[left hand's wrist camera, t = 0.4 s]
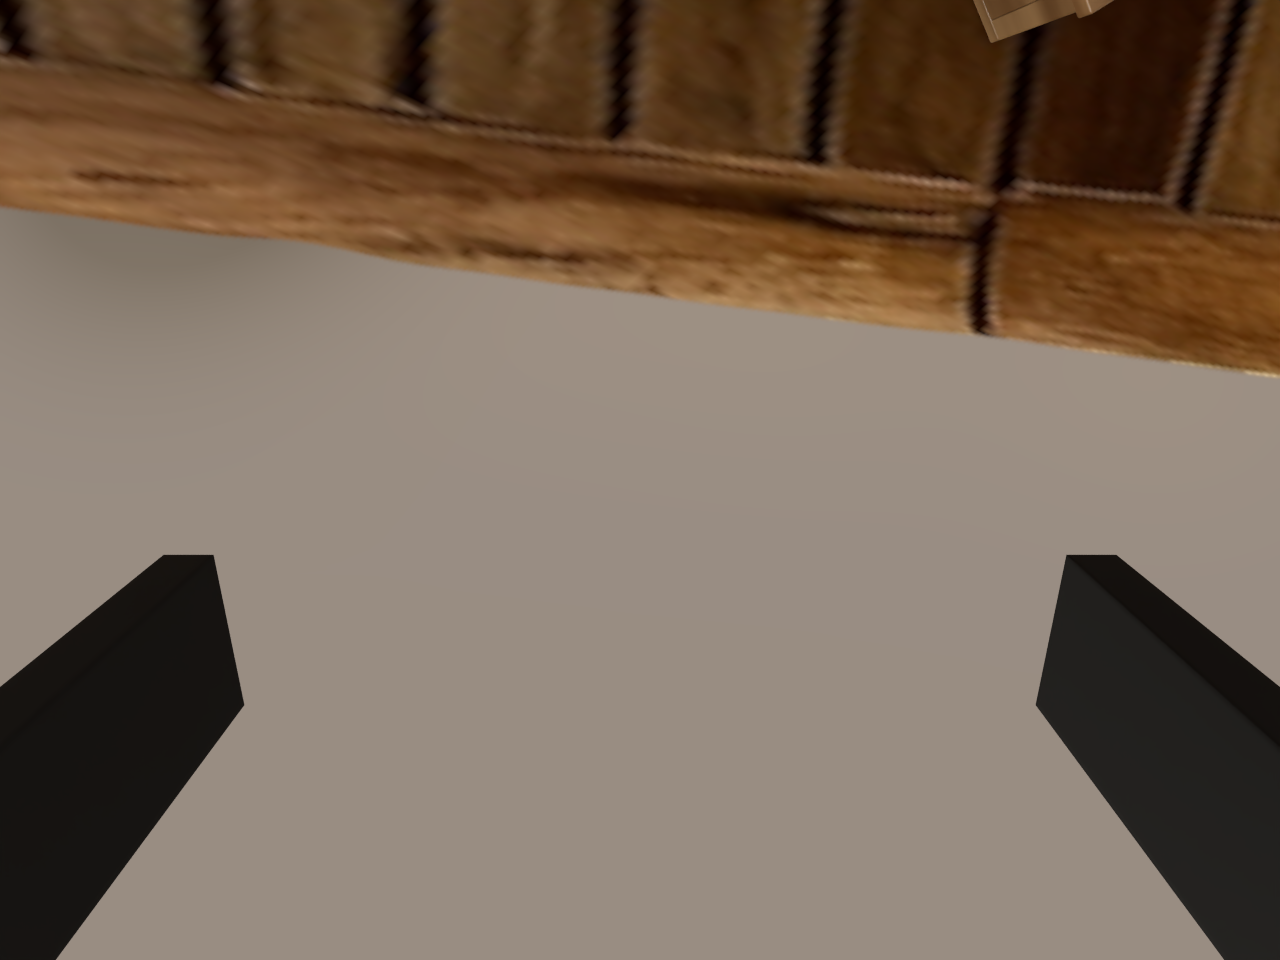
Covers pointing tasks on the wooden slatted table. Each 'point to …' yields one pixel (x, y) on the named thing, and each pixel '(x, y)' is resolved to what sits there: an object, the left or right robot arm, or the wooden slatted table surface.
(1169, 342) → the wooden slatted table surface
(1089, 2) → the lid
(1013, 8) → the chest
